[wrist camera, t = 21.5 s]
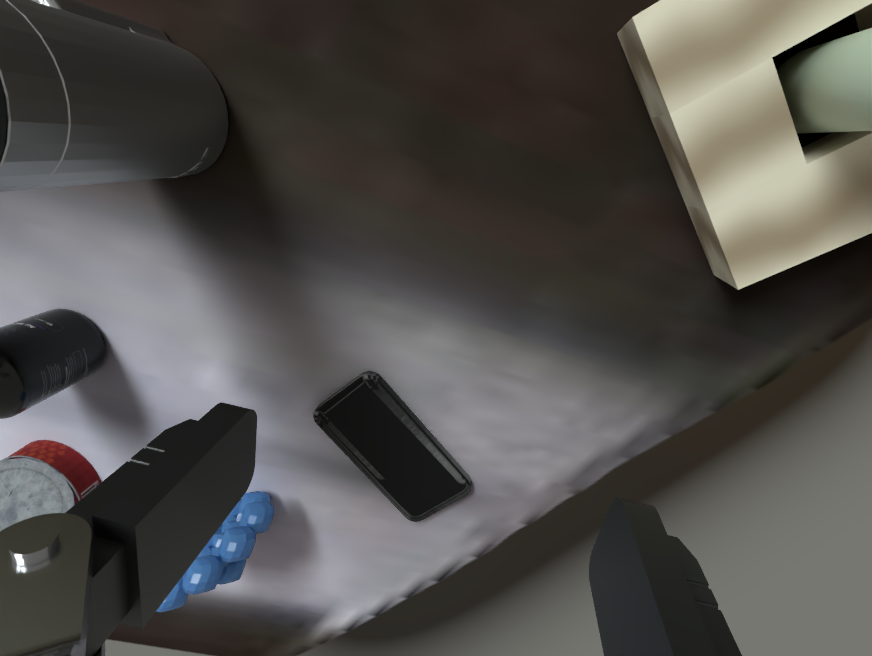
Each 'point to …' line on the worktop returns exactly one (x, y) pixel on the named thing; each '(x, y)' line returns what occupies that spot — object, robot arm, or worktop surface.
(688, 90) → the socket block
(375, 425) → the phone
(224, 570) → the grapes
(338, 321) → the worktop surface
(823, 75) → the peg
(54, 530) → the robot arm
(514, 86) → the worktop surface
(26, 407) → the supplement bottle
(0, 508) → the canned food
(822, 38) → the worktop surface
